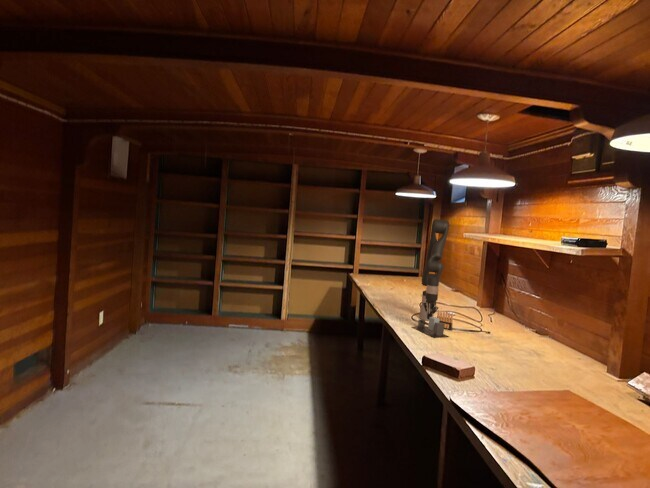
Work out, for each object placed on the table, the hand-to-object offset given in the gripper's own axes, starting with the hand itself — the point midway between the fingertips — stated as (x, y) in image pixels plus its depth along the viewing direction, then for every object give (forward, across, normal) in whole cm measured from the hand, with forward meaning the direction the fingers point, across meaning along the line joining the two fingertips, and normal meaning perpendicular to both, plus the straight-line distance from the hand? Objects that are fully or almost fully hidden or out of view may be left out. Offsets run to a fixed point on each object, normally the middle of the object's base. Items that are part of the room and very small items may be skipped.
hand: (429, 319), depth 257 cm
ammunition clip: (+8, -4, +16) cm, 18 cm away
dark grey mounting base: (+8, +2, 0) cm, 8 cm away
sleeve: (+5, +5, 0) cm, 7 cm away
